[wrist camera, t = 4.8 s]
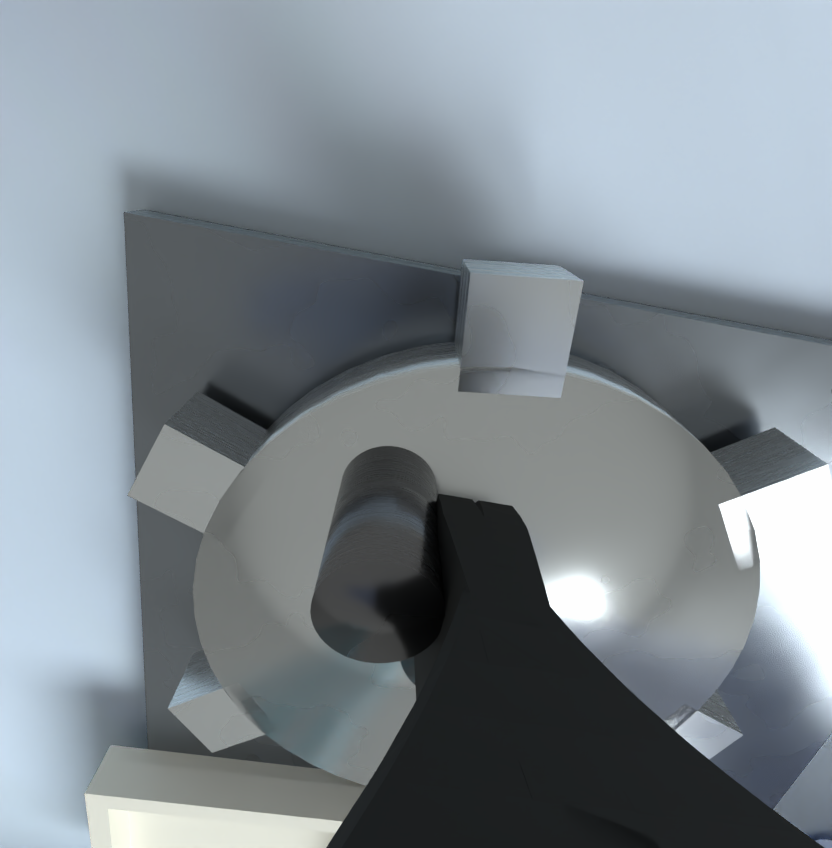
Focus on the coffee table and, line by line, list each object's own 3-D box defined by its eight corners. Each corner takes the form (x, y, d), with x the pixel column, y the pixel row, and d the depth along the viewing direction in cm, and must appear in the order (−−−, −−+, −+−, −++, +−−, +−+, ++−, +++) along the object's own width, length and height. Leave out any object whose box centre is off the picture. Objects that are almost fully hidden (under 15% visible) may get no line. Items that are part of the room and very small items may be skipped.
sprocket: (707, 136, 9) (983, 97, 5) (829, 665, 14) (1011, 881, 10) (29, 475, 12) (-198, 650, 7) (340, 813, 17) (314, 1032, 13)
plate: (1051, 381, 12) (1092, 394, 11) (658, 920, 22) (667, 946, 21) (144, 209, 10) (124, 212, 10) (163, 872, 20) (154, 897, 20)
